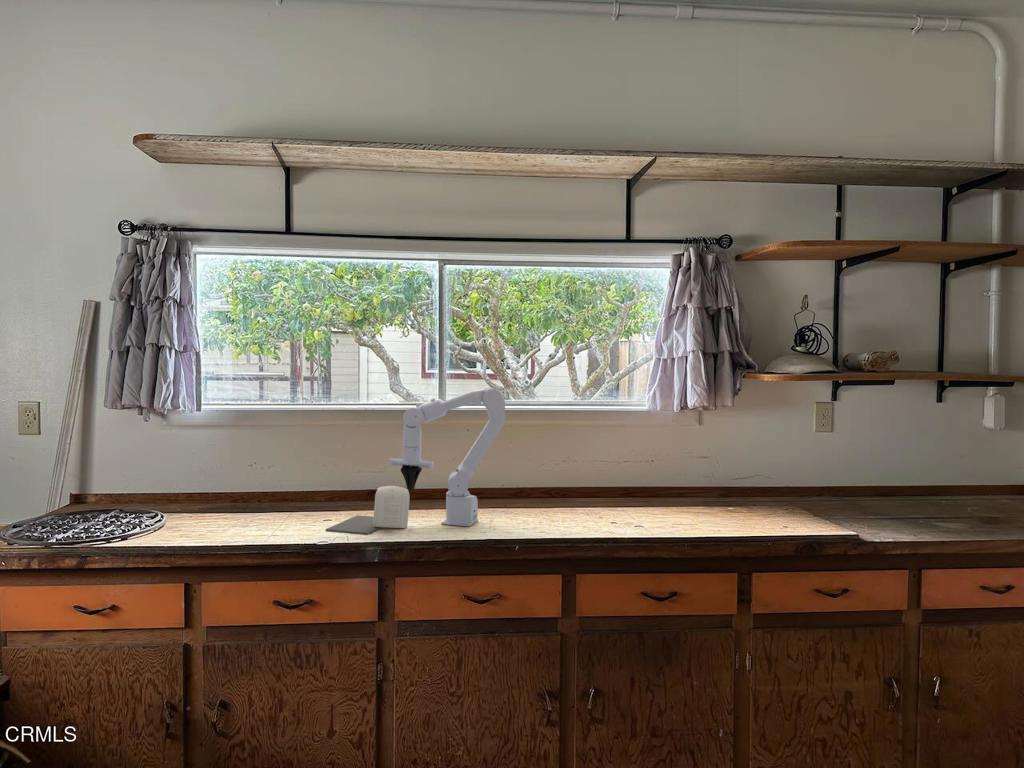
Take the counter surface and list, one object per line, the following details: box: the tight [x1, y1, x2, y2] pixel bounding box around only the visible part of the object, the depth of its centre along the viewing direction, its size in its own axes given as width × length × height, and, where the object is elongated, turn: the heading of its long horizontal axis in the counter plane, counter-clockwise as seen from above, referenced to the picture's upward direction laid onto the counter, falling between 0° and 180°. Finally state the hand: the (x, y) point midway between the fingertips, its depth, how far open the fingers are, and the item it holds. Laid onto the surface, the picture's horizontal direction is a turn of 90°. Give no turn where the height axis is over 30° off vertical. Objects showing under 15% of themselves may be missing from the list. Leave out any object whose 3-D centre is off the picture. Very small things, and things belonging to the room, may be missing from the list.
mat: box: [325, 514, 383, 536], centre depth 193 cm, size 14×18×1 cm
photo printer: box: [373, 485, 411, 529], centre depth 190 cm, size 10×4×12 cm, turn 98°
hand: (410, 490), depth 195 cm, fingers closed
